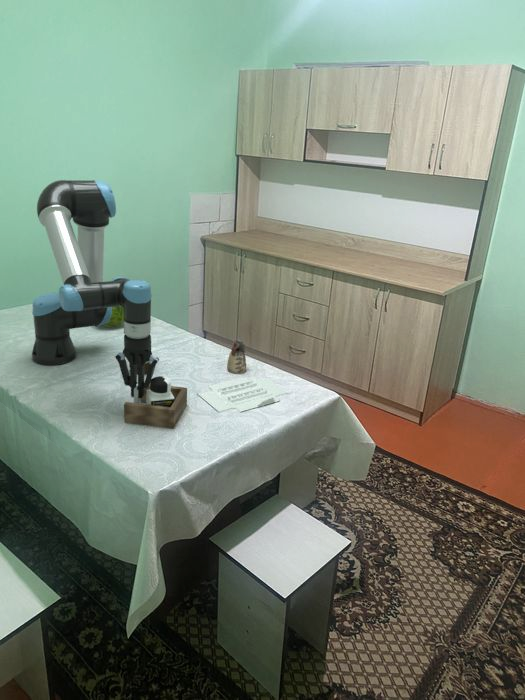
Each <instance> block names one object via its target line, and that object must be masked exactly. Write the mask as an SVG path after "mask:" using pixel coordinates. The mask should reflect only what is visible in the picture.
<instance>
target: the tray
mask: <svg viewBox="0 0 525 700" xmlns="http://www.w3.org/2000/svg"><path fill="white" fill-rule="evenodd" d="M207 388H209V389H210V390H208V391H205V392H200V393H197V396H199V397H200V398H202V399H203V400H204V401H205V402H206V403H208V404H209V405H210V406H211V407H213V409H215V410H216V411H217V412H218V413H221V412H225V411H229V410H233V409H234V410H235V409H236V410H237V411H238V412H240V413H241V412H245V411H249V410H252V409H255V408H259V407H262V406H266V405H269V404H274V403H277V402H281V400H280V399H278V398H277V397H279V396H284V395H288V394H289V392H288V391H286V390H285V389H283V388H282V387H280V386H279V384H276V383H275V382H274V381H271V380H270V379H269V378H267V377H262V378H257V379H254V380H253V379H249V378H248V377H246V376H245V377H241V378H236V379H231V380H229V381H228V380H227V381H223V382H220V383H215V384H212V385H208V386H207ZM228 401H229V402H228Z"/></svg>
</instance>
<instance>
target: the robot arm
mask: <svg viewBox="0 0 525 700" xmlns="http://www.w3.org/2000/svg"><path fill="white" fill-rule="evenodd" d="M36 213H37V217H38V218H37V219H38V221H39V223H40V224H41V225H42V226H43V227H45V231H46V234H47V237H48V241H49V244H50V247H51V250H52V252H53V255H54V260H55V262H56V265H57V268H58V271H59V274H60V277H61V281H62V283H63V284H62V285H61V286H59V288H58V292H49V293H44V294H41V295H40V296H38V297H36V298H34V300H33V302H32V317H33V324H34V326H33V327H34V336H35V340H34V344H33V347H32V351H31V357H32V361H33V362H34V363H36V364H38V365H43V366H58V365H63V364H66V363H70V362H72V361H73V360H75V359H76V358H77V349H76V347H75V345H74V343H73V340H72V338H71V335H70V330H74V329H79V328H89V327H98V326H102V325H103V324H106V323H107V322H109V320H110V318H111V314H112V307H116V306H122V307H123V308H124V321H123V333H124V335H123V347H124V348H123V349H122V352H118V353H117V354H116V355H115V356H114V358H115V360H116V362H118V365H119V368H120V372H121V376H122V379H123V384H124V385H125V386H128V387H130V397H131V398H133V403H138V404H142V403H141V398H142V397H143V395H144V388H147V387H148V386H149V385H150V381H151V379H152V378H153V375H154V371H155V368H156V366H157V364H158V363H159V361H160V357H155V356H154V355H153V352H152V349H151V350H150V346H151V347H152V335H151V332H152V331H151V330H152V329H151V328H152V326H151V323H152V321H151V318H152V316H151V315H152V313H151V312H152V307H151V306H152V290H151V289H152V287H151V284H150V283H149V282H147V281H144V280H141V279H140V280H139V279H128V278H126V277H124V276H117V277H115V278H113V279H111V280H108V281H104V278H103V277H104V253H105V252H104V249H105V247H104V246H105V245H104V244H105V228H107V227H108V226H109V225H110V218H111V219H112V218H114V217H115V216H116V213H117V205H116V199H115V195H114V192H113V190H112V187H111V186H110V184H109V183H108V182H106V181H102V180H94V179H92V180H79V179H78V180H69V179H67V180H65V179H64V180H63V179H60V180H55V181H53V182H51V183H49V184H48V185H46V186H45V187H44V188H43V189H42V191H41V193H40V194H39V196H38V200H37V203H36ZM71 220H72V222H73V223H74V224H75V225H76V226H77V237H76V235H75V234H76V233H75V231H74V228H73V226H72V222H71ZM103 326H104V325H103ZM149 334H150V335H151V336H150V335H149ZM148 359H150V366H149V369H148V373H147V374H146V375H145V363H146V362H147V360H148ZM127 361H128V363H129V366H128V364H127ZM137 365H138V366H137ZM128 367H129V368H128ZM137 368H138V375H137Z"/></svg>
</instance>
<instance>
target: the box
mask: <svg viewBox="0 0 525 700" xmlns="http://www.w3.org/2000/svg"><path fill="white" fill-rule="evenodd" d="M146 390H150V385H149V386H148V387H147V388H144V395H143V397H142V398H141V402H143V403H144V404H143V403H141V404H138V403H134V402H129V401H128V402H127V401H125V402H124V404H123V415H124V416H123V418H124V423H128V424H135V425H142V426H143V425H145V426H153V427H160V428H168V429H175V427H176V426H177V424H178V422H179V421H180V419H181V417H182V415H183V413H184V411H185V410H186V408H187V405H188V387H184V386H183V387H182V386H174V385H171V393H172V394H173V396H174V398H175V401H174V402H173V404H172V406H171V407H163V406H155V405H147V404H146Z"/></svg>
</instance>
